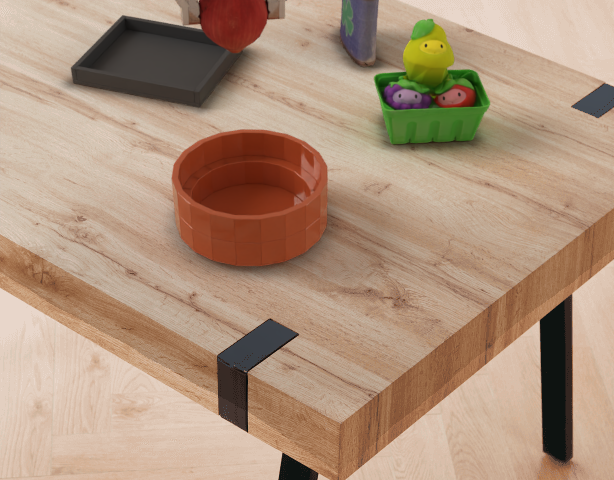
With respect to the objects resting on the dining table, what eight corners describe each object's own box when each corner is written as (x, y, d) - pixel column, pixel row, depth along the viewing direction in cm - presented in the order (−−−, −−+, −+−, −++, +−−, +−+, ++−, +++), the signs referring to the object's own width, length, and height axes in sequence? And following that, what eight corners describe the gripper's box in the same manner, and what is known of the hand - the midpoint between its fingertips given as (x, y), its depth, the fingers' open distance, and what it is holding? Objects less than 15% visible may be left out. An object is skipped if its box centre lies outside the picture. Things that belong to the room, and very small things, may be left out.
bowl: (152, 252, 99) (146, 200, 95) (210, 168, 109) (207, 118, 105) (299, 285, 97) (299, 232, 93) (344, 195, 107) (346, 145, 103)
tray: (72, 83, 120) (70, 67, 119) (124, 29, 130) (122, 14, 128) (200, 108, 118) (199, 92, 116) (242, 51, 127) (242, 36, 126)
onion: (191, 63, 91) (186, -26, 86) (211, 31, 96) (206, -55, 90) (258, 72, 91) (256, -17, 85) (274, 40, 95) (274, -46, 90)
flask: (378, 66, 126) (383, -20, 119) (354, 68, 126) (357, -18, 118) (357, 29, 133) (360, -55, 126) (334, 31, 132) (335, -53, 125)
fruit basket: (381, 152, 113) (387, 56, 105) (368, 107, 119) (373, 13, 112) (486, 147, 115) (499, 52, 107) (468, 103, 121) (480, 11, 114)
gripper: (90, -127, 77) (110, 46, 87) (365, -137, 82) (357, 28, 91) (85, -158, 82) (105, 9, 91) (347, -165, 87) (340, -5, 96)
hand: (233, 19), depth 91 cm, fingers closed on onion, 6 cm apart
